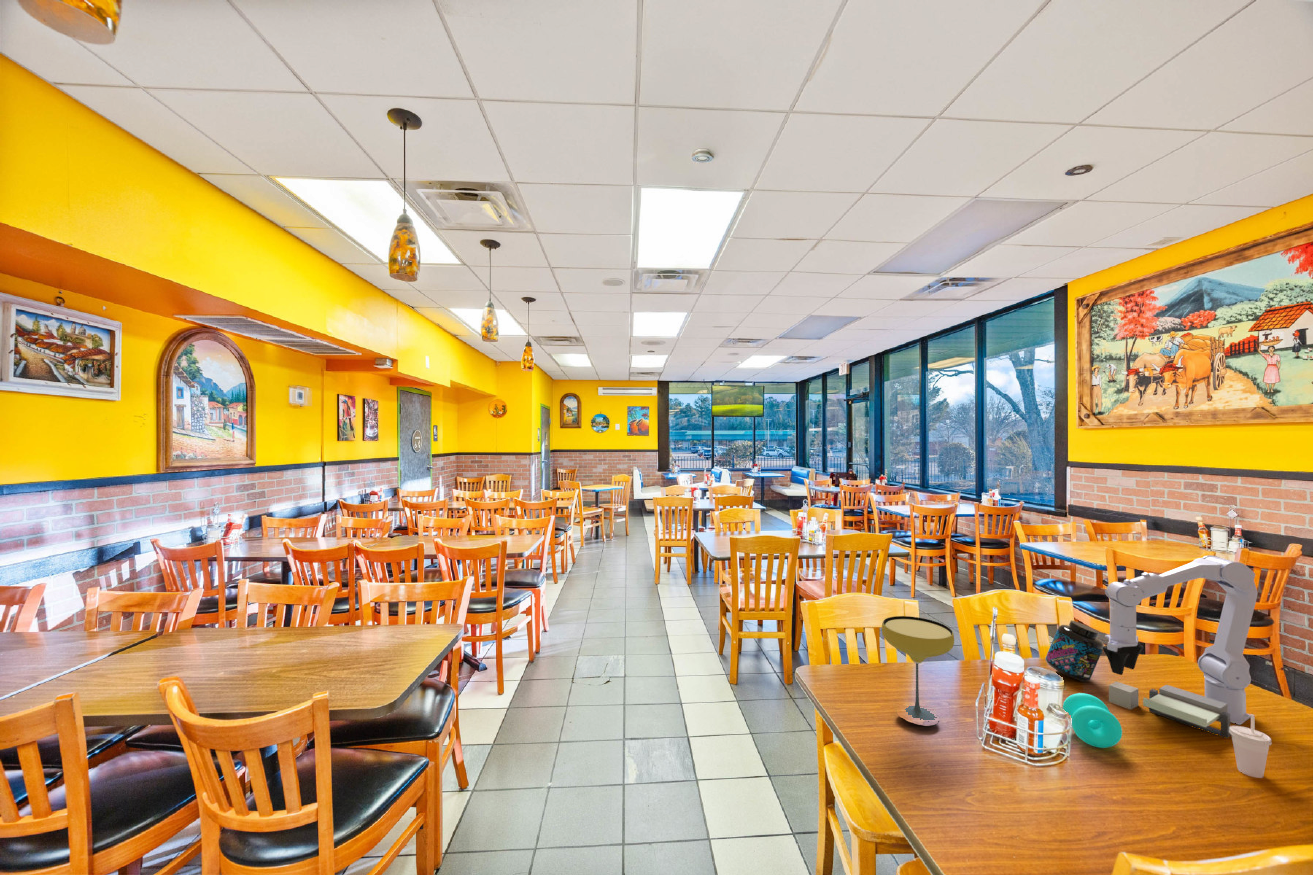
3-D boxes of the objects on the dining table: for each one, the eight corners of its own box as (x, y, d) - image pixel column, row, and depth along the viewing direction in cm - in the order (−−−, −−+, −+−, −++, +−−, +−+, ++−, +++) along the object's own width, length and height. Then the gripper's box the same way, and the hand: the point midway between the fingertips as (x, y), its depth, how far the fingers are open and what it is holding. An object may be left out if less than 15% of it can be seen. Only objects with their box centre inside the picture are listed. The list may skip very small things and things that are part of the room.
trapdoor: (1166, 697, 145) (1166, 684, 145) (1227, 717, 135) (1227, 703, 135) (1143, 710, 138) (1143, 697, 138) (1205, 732, 127) (1205, 718, 127)
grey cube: (1116, 697, 151) (1116, 681, 151) (1138, 705, 147) (1138, 688, 147) (1108, 701, 149) (1108, 685, 149) (1130, 709, 144) (1130, 692, 145)
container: (1084, 674, 168) (1104, 629, 165) (1091, 689, 157) (1113, 642, 155) (1041, 655, 174) (1060, 612, 171) (1046, 668, 163) (1065, 623, 161)
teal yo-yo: (1108, 733, 133) (1108, 695, 133) (1124, 754, 124) (1124, 714, 124) (1061, 724, 137) (1061, 687, 137) (1073, 744, 128) (1073, 705, 128)
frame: (1152, 709, 145) (1152, 688, 145) (1230, 736, 131) (1230, 713, 131) (1149, 711, 143) (1149, 690, 144) (1227, 739, 130) (1227, 716, 130)
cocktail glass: (883, 725, 136) (883, 633, 136) (880, 694, 153) (880, 612, 153) (960, 740, 129) (959, 643, 130) (948, 706, 146) (948, 620, 146)
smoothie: (1281, 786, 112) (1280, 723, 112) (1246, 782, 114) (1246, 720, 114) (1253, 767, 119) (1253, 708, 119) (1221, 764, 120) (1220, 705, 120)
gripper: (1116, 616, 155) (1117, 660, 155) (1094, 624, 148) (1094, 670, 148) (1147, 623, 149) (1147, 669, 149) (1125, 632, 142) (1125, 680, 142)
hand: (1123, 670), depth 148 cm, fingers open, 7 cm apart
